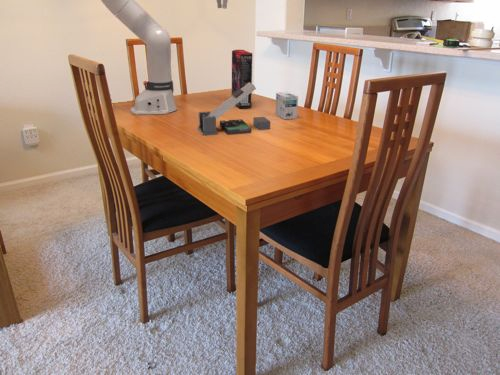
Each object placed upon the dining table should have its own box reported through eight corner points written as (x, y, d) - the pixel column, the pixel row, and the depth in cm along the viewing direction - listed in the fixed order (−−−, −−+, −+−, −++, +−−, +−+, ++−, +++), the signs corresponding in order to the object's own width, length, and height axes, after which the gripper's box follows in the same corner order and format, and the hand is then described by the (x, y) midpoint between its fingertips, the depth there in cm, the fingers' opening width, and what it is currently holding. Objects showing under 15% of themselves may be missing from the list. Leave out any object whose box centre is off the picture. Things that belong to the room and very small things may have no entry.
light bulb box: (297, 118, 195) (298, 95, 191) (284, 120, 193) (285, 96, 188) (287, 113, 204) (288, 91, 200) (274, 114, 202) (275, 92, 197)
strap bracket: (203, 135, 169) (202, 118, 167) (198, 128, 179) (197, 112, 176) (271, 130, 178) (271, 113, 175) (262, 123, 187) (263, 107, 184)
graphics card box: (230, 102, 225) (230, 49, 214) (243, 101, 227) (243, 49, 216) (239, 109, 211) (239, 53, 199) (252, 108, 213) (253, 52, 201)
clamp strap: (208, 126, 171) (204, 121, 170) (205, 122, 176) (201, 117, 175) (256, 88, 171) (252, 83, 170) (251, 86, 176) (248, 80, 175)
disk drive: (219, 126, 184) (227, 136, 171) (219, 120, 182) (227, 129, 170) (241, 125, 186) (251, 134, 174) (241, 119, 185) (251, 127, 172)
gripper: (209, -24, 197) (210, 7, 203) (220, -27, 180) (220, 8, 185) (222, -24, 199) (223, 8, 205) (234, -26, 181) (234, 8, 187)
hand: (222, 8), depth 195 cm, fingers open, 8 cm apart
